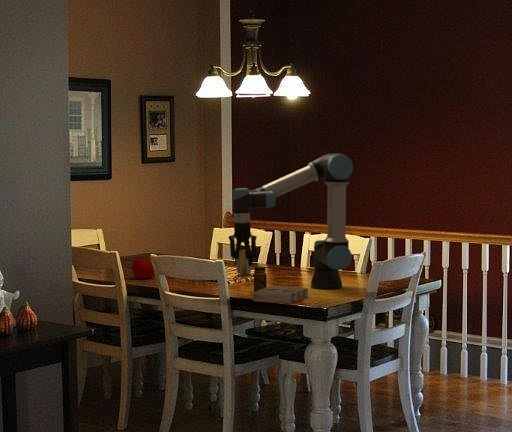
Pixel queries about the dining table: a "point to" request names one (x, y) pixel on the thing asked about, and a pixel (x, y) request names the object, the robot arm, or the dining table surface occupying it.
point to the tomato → (142, 268)
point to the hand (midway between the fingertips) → (244, 272)
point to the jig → (280, 294)
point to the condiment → (259, 278)
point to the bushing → (243, 263)
